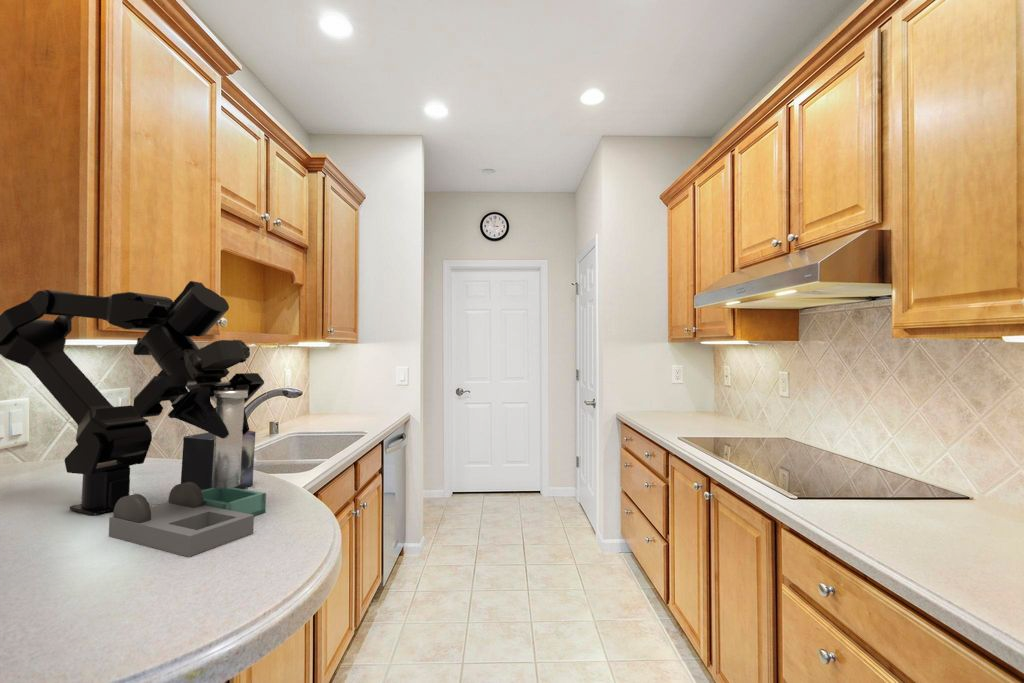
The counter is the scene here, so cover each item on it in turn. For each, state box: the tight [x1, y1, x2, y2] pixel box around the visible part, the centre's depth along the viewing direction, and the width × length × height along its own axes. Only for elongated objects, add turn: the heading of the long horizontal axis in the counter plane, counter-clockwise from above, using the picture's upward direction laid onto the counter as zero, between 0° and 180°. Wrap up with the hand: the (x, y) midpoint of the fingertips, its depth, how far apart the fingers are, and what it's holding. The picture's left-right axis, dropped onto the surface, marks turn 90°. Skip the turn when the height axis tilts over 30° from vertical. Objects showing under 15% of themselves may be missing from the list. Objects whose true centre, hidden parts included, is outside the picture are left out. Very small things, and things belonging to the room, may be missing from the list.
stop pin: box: [212, 390, 248, 489], centre depth 73 cm, size 4×4×14 cm
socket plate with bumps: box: [108, 482, 255, 558], centre depth 67 cm, size 16×9×6 cm, turn 68°
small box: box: [180, 430, 257, 491], centre depth 88 cm, size 11×6×10 cm, turn 168°
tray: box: [201, 487, 267, 517], centre depth 76 cm, size 10×7×3 cm
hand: (236, 434), depth 72 cm, fingers closed on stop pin, 4 cm apart
